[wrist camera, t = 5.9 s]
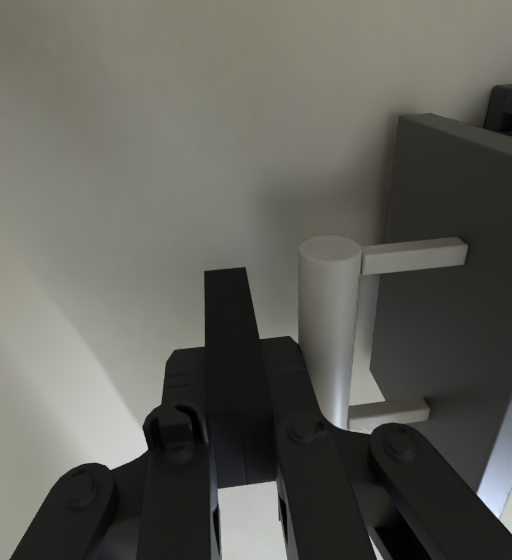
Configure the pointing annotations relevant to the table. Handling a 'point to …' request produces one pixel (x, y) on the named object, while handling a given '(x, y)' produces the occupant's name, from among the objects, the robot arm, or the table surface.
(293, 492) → the robot arm
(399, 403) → the drawer
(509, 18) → the table surface
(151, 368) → the table surface
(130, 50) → the table surface
